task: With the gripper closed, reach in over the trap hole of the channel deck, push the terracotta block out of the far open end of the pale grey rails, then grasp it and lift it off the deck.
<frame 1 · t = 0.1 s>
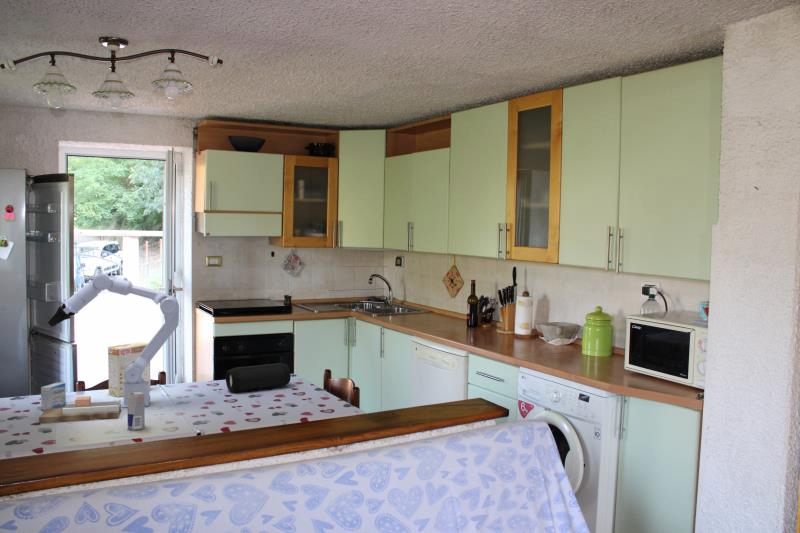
hand: (51, 323, 251), 32 cm above the table, tool tilted 50°, fingers open, 7 cm apart
deck: (81, 416, 245), on the table
energy drink: (136, 428, 231), on the table
block: (83, 410, 245), point 2 cm above the table, touching deck
coffeecake box: (129, 393, 280), on the table
medicine box: (53, 408, 256), on the table
rails: (92, 407, 246), on the deck, point 2 cm above the table
portable speaker: (258, 389, 289), on the table
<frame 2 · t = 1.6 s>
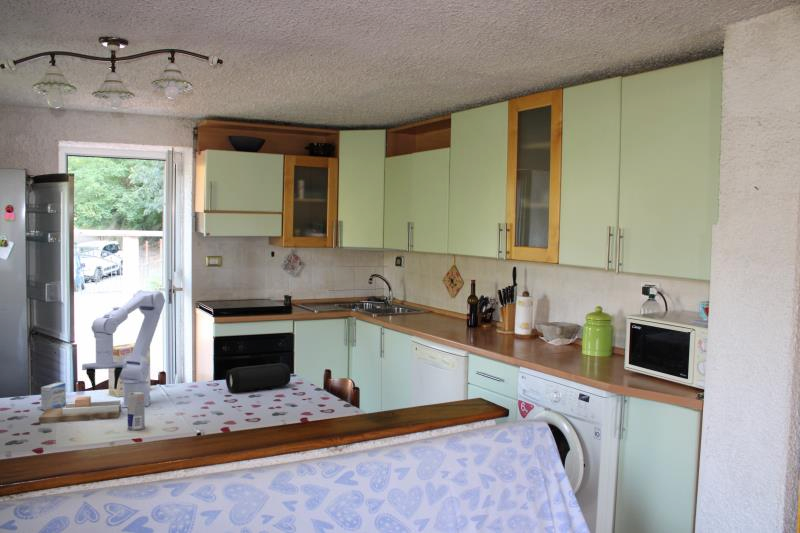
hand: (104, 388, 246), 9 cm above the table, tool pointing down, fingers open, 6 cm apart
nothing on the table moved.
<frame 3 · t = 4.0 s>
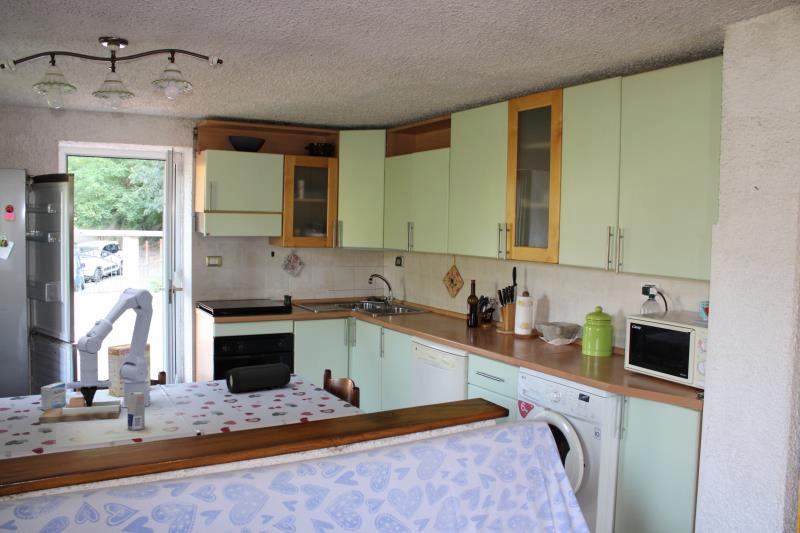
hand: (89, 407, 245), 3 cm above the table, tool pointing down, fingers closed
block: (77, 410, 244), point 2 cm above the table, touching gripper
everything else where it was.
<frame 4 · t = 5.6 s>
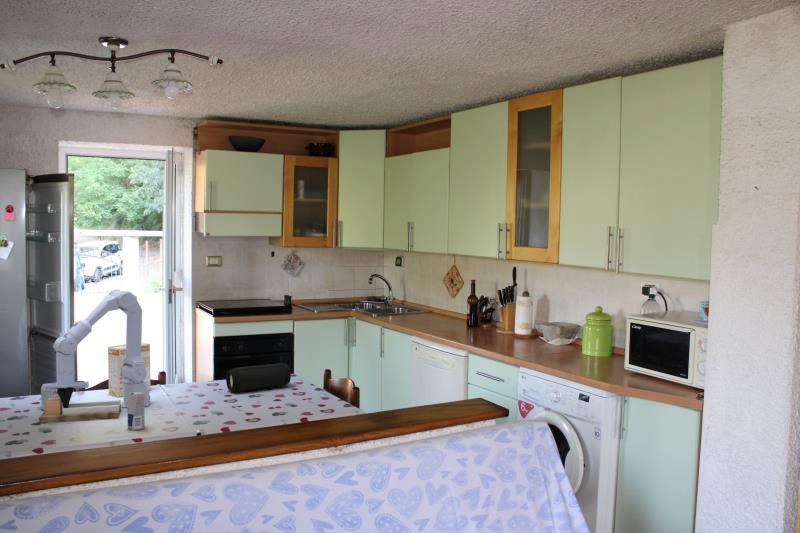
hand: (66, 409, 243), 3 cm above the table, tool pointing down, fingers closed
block: (54, 412, 242), point 2 cm above the table, touching deck, gripper
everything else where it was.
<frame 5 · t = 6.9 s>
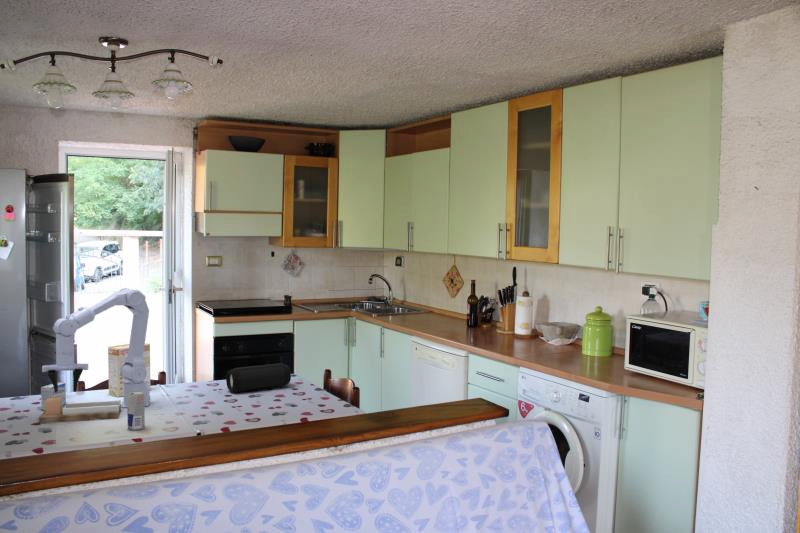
hand: (65, 390, 243), 9 cm above the table, tool pointing down, fingers open, 5 cm apart
block: (54, 412, 242), point 2 cm above the table, touching deck
everything else where it was.
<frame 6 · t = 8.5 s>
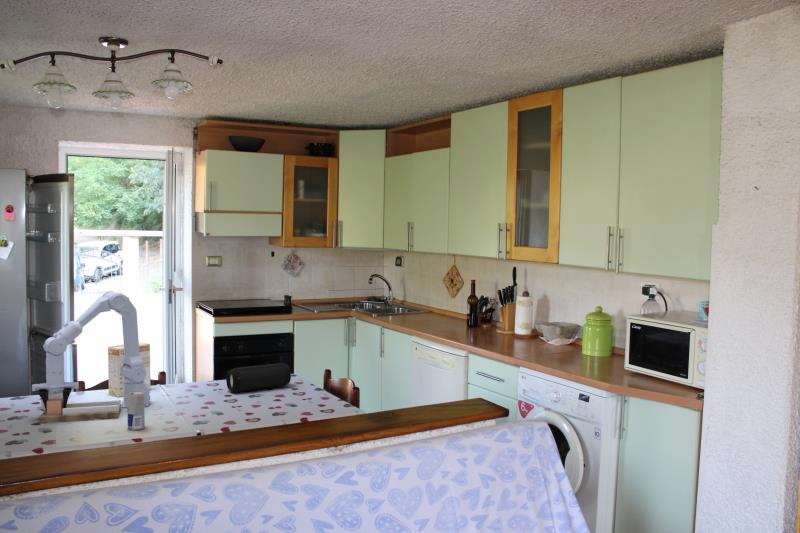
hand: (55, 409, 242), 3 cm above the table, tool pointing down
block: (55, 412, 242), point 2 cm above the table, touching gripper
everything else where it was.
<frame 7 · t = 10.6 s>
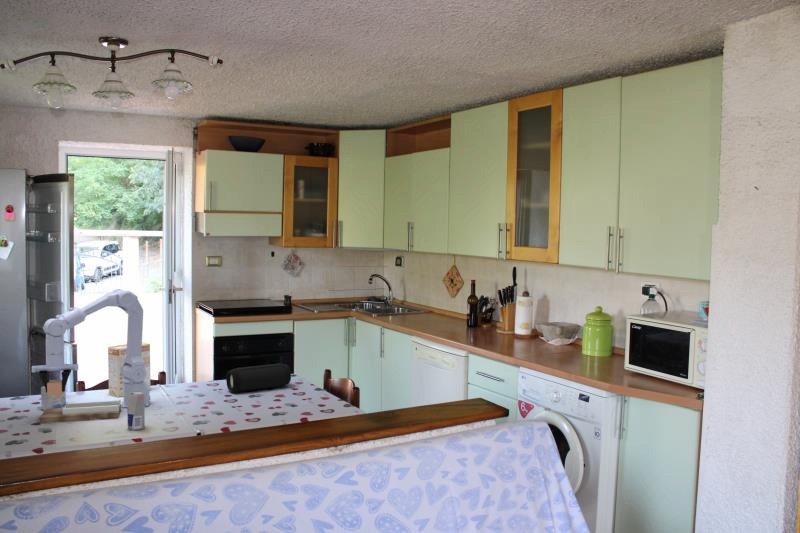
hand: (55, 391, 242), 9 cm above the table, tool pointing down, fingers closed on block, 4 cm apart
block: (55, 394, 242), point 9 cm above the table, touching gripper
everything else where it was.
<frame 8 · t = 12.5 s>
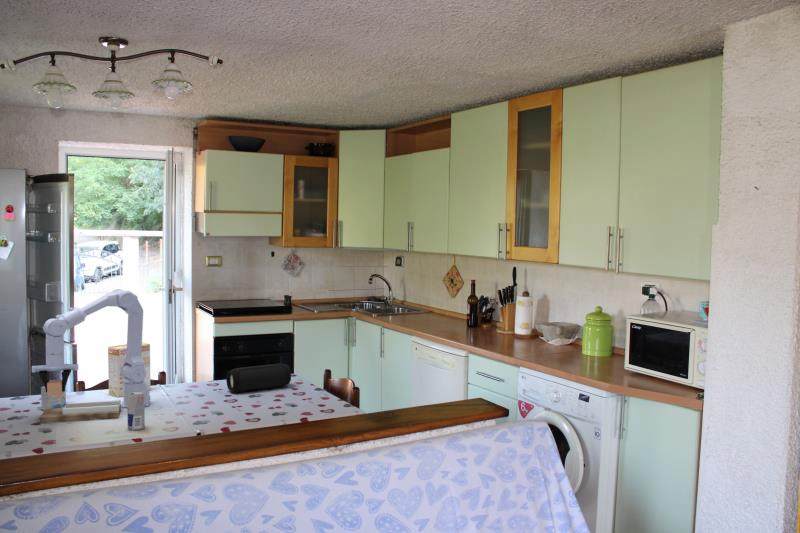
hand: (55, 391, 242), 9 cm above the table, tool pointing down, fingers closed on block, 4 cm apart
block: (55, 394, 242), point 9 cm above the table, touching gripper
everything else where it was.
at the end: block inside the target area on the deck (0.8 cm from its centre), point 8.5 cm above the deck's base; block point 8.5 cm above the table; the gripper is holding block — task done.
